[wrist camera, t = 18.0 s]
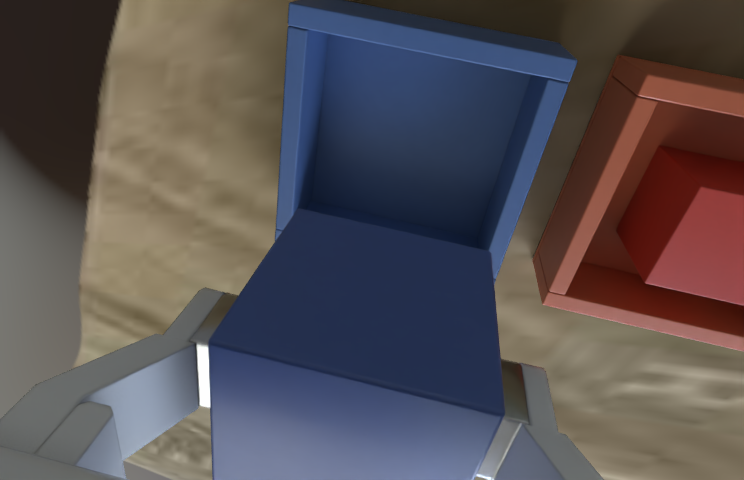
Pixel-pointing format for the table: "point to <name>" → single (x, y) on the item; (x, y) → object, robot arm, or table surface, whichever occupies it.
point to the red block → (688, 224)
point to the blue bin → (414, 121)
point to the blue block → (357, 359)
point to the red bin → (616, 188)
